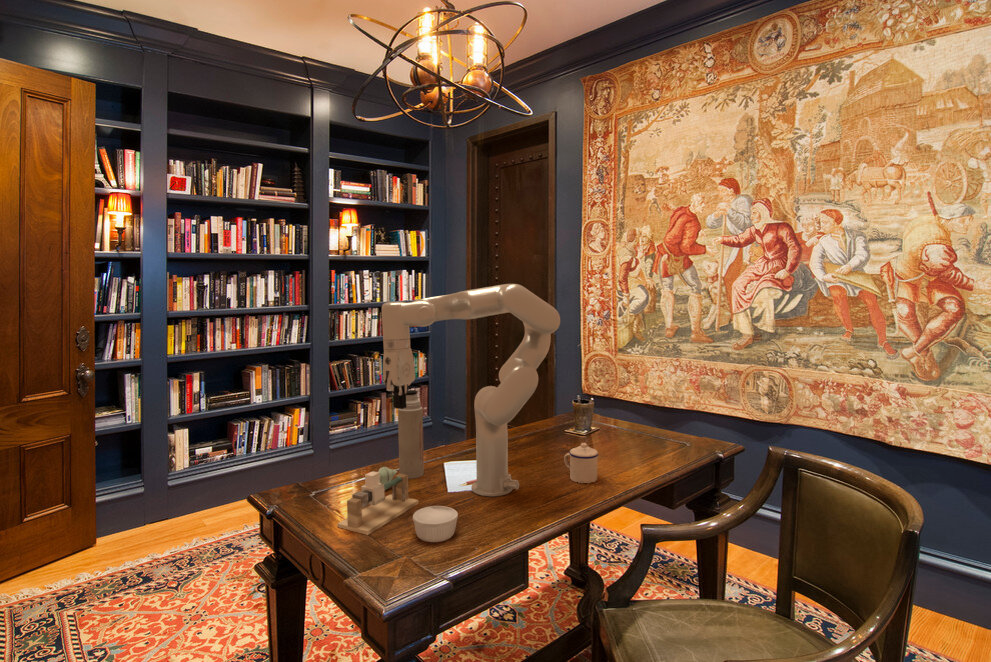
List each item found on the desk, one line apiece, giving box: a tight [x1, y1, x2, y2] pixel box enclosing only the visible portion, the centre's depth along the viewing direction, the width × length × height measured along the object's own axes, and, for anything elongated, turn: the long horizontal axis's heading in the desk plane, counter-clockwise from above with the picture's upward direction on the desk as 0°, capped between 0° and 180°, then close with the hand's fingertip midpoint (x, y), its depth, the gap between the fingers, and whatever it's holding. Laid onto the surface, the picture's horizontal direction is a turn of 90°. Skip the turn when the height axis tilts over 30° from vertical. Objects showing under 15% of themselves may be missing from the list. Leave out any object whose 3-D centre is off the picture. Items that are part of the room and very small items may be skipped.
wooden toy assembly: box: [336, 473, 419, 536], centre depth 149 cm, size 22×10×9 cm, turn 153°
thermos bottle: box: [397, 389, 425, 480], centre depth 179 cm, size 8×8×28 cm
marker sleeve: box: [360, 471, 386, 506], centre depth 146 cm, size 4×5×8 cm
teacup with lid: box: [563, 442, 599, 484], centre depth 176 cm, size 12×9×12 cm
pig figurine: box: [377, 466, 399, 484], centre depth 168 cm, size 8×4×7 cm, turn 137°
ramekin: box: [412, 505, 459, 543], centre depth 137 cm, size 11×11×5 cm
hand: (400, 407), depth 158 cm, fingers closed
